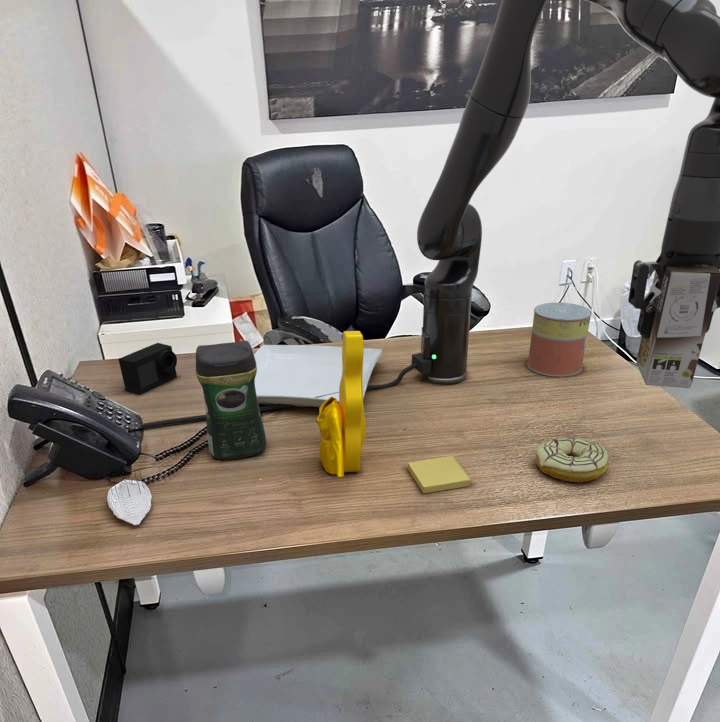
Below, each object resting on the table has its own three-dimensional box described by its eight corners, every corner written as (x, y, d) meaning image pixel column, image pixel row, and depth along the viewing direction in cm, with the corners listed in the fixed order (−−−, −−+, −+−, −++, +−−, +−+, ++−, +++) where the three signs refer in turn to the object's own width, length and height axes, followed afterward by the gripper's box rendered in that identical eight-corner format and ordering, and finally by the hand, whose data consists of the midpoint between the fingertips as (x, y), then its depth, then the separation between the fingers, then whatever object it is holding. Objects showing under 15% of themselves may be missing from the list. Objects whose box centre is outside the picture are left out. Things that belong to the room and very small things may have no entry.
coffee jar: (263, 434, 115) (252, 332, 105) (269, 456, 108) (257, 349, 99) (207, 442, 113) (191, 339, 103) (210, 464, 106) (192, 356, 97)
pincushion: (159, 522, 93) (152, 489, 90) (115, 533, 91) (105, 500, 88) (146, 482, 102) (138, 450, 99) (105, 491, 100) (96, 459, 97)
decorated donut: (538, 448, 109) (541, 428, 107) (606, 457, 106) (610, 437, 104) (531, 479, 100) (534, 458, 99) (604, 490, 97) (609, 469, 95)
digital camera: (143, 396, 130) (136, 363, 126) (125, 390, 132) (117, 358, 129) (181, 378, 137) (176, 346, 134) (163, 373, 140) (157, 342, 136)
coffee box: (692, 389, 92) (724, 272, 83) (644, 386, 93) (670, 271, 84) (679, 364, 99) (706, 255, 91) (634, 362, 100) (657, 254, 92)
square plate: (383, 363, 142) (383, 346, 140) (361, 419, 119) (361, 400, 117) (263, 357, 146) (262, 341, 144) (220, 411, 123) (217, 392, 121)
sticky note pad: (423, 493, 98) (423, 487, 97) (407, 468, 104) (407, 462, 103) (470, 486, 99) (471, 479, 99) (452, 461, 106) (452, 455, 105)
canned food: (588, 376, 134) (598, 319, 127) (533, 377, 134) (540, 320, 128) (574, 356, 143) (582, 302, 137) (522, 356, 144) (529, 302, 137)
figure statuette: (311, 442, 112) (303, 317, 101) (356, 437, 113) (353, 313, 102) (327, 498, 97) (319, 358, 86) (378, 491, 99) (377, 353, 87)
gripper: (741, 206, 88) (709, 326, 96) (634, 208, 88) (611, 328, 97) (771, 217, 81) (734, 344, 90) (655, 219, 81) (629, 346, 90)
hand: (670, 335), depth 93 cm, fingers closed on coffee box, 7 cm apart
